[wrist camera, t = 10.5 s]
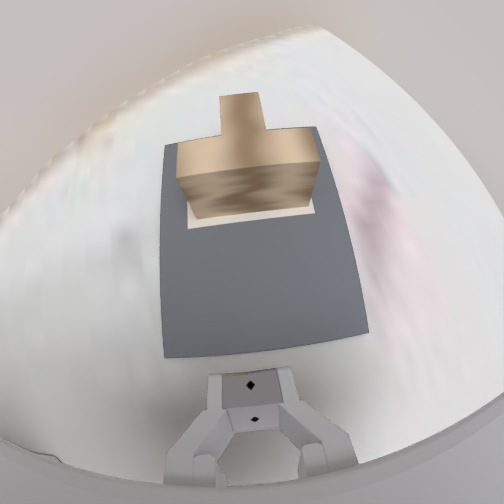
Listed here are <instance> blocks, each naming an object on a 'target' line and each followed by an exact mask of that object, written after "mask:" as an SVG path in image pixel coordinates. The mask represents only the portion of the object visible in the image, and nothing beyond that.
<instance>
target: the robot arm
mask: <svg viewBox="0 0 504 504" xmlns="http://www.w3.org/2000/svg"><path fill="white" fill-rule="evenodd" d="M278 428H279V429H280V430H281V431H282V432H283V433H284V434H285V436H286V437H287V438H288V439H289V440H290V441H291V442H292V443H293V444H294V445H295V446H296V447H297V448H298V449H299V450H300V451H301V455H300V461H299V466H298V476H299V479H295V480H289V481H282V482H275V483H267V484H257V485H244V486H227V479H226V477H225V475H224V473H223V472H222V470H221V468H220V466H219V465H218V463H217V462H218V460H219V458H220V457H221V455H222V454H223V452H224V450H225V449H226V447H227V446H228V444H229V442H230V441H231V439H232V437H233V436H234V433H240V432H249V431H258V430H269V429H278ZM0 504H504V392H503V393H501V394H500V395H499V396H497V397H496V398H494V399H493V400H492V401H490V402H489V403H487V404H486V405H484V406H483V407H481V408H480V409H478V410H477V411H475V412H473V413H472V414H470V415H469V416H467V417H465V418H464V419H462V420H460V421H458V422H457V423H455V424H453V425H451V426H450V427H448V428H446V429H444V430H442V431H440V432H438V433H436V434H434V435H432V436H430V437H428V438H426V439H424V440H422V441H420V442H417V443H415V444H413V445H411V446H408V447H406V448H403V449H401V450H399V451H396V452H393V453H391V454H388V455H386V456H383V457H380V458H377V459H374V460H371V461H368V462H365V463H362V464H359V463H358V460H357V457H356V454H355V451H354V449H353V446H352V443H351V440H350V437H349V434H347V433H346V432H345V431H343V430H342V429H341V428H339V427H338V426H337V425H335V424H334V423H333V422H331V421H330V420H329V419H327V418H326V417H325V416H323V415H322V414H321V413H319V412H318V411H317V410H316V409H314V408H313V407H312V406H310V405H309V404H308V403H307V402H305V401H304V400H299V397H298V393H297V389H296V385H295V381H294V377H293V374H292V370H291V367H290V366H287V367H281V368H272V369H265V370H257V371H249V372H241V373H225V374H209V376H208V385H207V410H202V412H201V413H200V414H199V415H198V417H197V418H196V419H195V420H194V421H193V423H192V424H191V425H190V426H189V427H188V429H187V430H186V431H185V432H184V433H183V434H182V436H181V437H180V438H179V439H178V440H177V441H176V443H175V444H174V445H173V446H172V447H171V448H170V449H169V451H168V452H167V454H166V464H165V475H164V484H155V483H147V482H140V481H133V480H127V479H122V478H117V477H112V476H107V475H103V474H98V473H94V472H90V471H86V470H83V469H79V468H76V467H72V466H69V465H66V464H63V463H61V462H60V461H59V460H58V459H57V458H56V457H54V456H50V455H43V454H37V453H33V452H31V451H28V450H26V449H24V448H21V447H19V446H17V445H15V444H13V443H11V442H9V441H7V440H5V439H3V438H1V437H0Z"/></svg>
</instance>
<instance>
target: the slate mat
mask: <svg viewBox="0 0 504 504" xmlns="http://www.w3.org/2000/svg"><path fill="white" fill-rule="evenodd" d="M296 128H310V129H311V132H312V135H313V138H314V142H315V145H316V148H317V151H318V154H319V157H320V161H321V162H320V165H319V169H318V173H317V177H316V181H315V185H314V188H313V192H312V196H311V200H310V203H309V207H299V208H290V209H280V210H271V211H262V212H253V213H245V214H237V215H229V216H221V217H213V218H206V219H198V220H197V218H196V216H195V215H194V213H193V211H192V209H191V207H190V205H189V203H188V201H187V199H186V197H185V195H184V193H183V191H182V189H181V187H180V185H179V183H178V181H177V179H176V168H177V151H178V143H174V144H169V145H165V150H164V161H163V174H162V190H161V212H160V296H161V317H162V333H163V346H164V358H186V357H204V356H218V355H230V354H241V353H250V352H259V351H268V350H275V349H283V348H290V347H296V346H303V345H309V344H315V343H321V342H326V341H332V340H337V339H342V338H347V337H352V336H357V335H361V334H366V333H369V329H368V322H367V316H366V310H365V305H364V299H363V294H362V289H361V284H360V279H359V274H358V270H357V265H356V260H355V256H354V252H353V248H352V243H351V239H350V235H349V231H348V227H347V224H346V220H345V216H344V212H343V209H342V205H341V202H340V198H339V195H338V191H337V188H336V185H335V181H334V178H333V175H332V172H331V169H330V165H329V162H328V159H327V156H326V153H325V150H324V147H323V145H322V142H321V139H320V136H319V133H318V131H317V128H316V127H296ZM281 129H293V128H281ZM270 130H278V129H270ZM219 136H221V135H219ZM213 137H216V136H213ZM206 138H209V137H206ZM200 139H203V138H200ZM195 140H197V139H195ZM189 141H191V140H189ZM184 142H185V141H184ZM179 143H180V142H179Z"/></svg>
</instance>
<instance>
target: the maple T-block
mask: <svg viewBox="0 0 504 504" xmlns="http://www.w3.org/2000/svg"><path fill="white" fill-rule="evenodd" d="M219 100H220V118H221V136H216V137H209V138H203V139H197V140H191V141H185V142H180V143H178V151H177V168H176V179H177V181H178V183H179V185H180V187H181V189H182V191H183V193H184V195H185V197H186V199H187V201H188V203H189V205H190V207H191V209H192V211H193V213H194V215H195V216H196V218H197V220H198V219H206V218H213V217H221V216H229V215H237V214H245V213H253V212H262V211H271V210H280V209H290V208H299V207H309V203H310V200H311V196H312V192H313V188H314V185H315V181H316V177H317V173H318V169H319V165H320V162H321V161H320V157H319V154H318V151H317V148H316V145H315V142H314V138H313V135H312V132H311V129H310V128H293V129H278V130H266V127H265V122H264V117H263V112H262V108H261V103H260V98H259V94H258V92H252V93H243V94H234V95H226V96H219Z"/></svg>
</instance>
